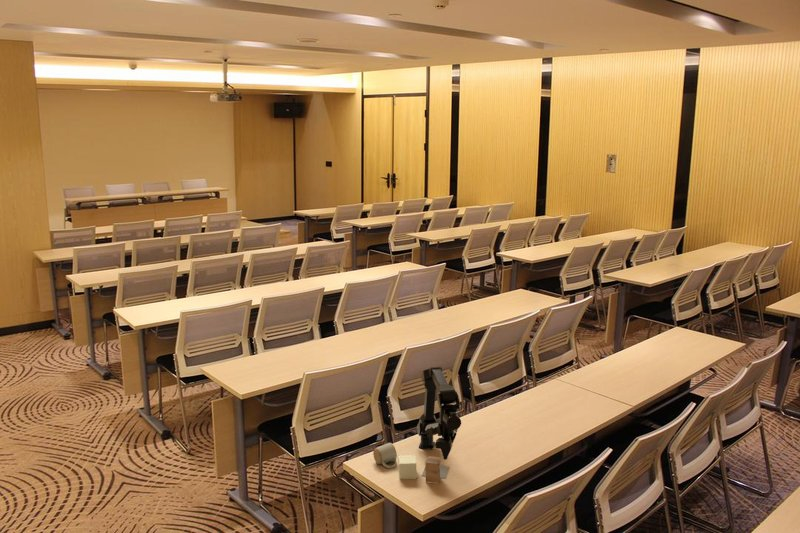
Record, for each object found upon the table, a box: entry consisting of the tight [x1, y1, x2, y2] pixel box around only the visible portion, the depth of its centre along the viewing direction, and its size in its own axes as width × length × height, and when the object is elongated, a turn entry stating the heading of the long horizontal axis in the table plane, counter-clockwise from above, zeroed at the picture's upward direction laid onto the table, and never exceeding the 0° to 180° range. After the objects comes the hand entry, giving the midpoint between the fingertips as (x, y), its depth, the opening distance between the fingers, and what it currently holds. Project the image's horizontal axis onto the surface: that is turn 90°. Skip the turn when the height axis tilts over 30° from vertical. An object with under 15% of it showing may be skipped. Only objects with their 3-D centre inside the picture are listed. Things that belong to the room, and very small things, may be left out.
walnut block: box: [424, 455, 441, 484], centre depth 279 cm, size 5×5×9 cm
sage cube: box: [398, 454, 417, 480], centre depth 283 cm, size 7×7×7 cm
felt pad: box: [421, 465, 450, 480], centre depth 286 cm, size 10×10×1 cm
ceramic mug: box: [372, 442, 398, 469], centre depth 293 cm, size 11×8×8 cm
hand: (446, 455), depth 275 cm, fingers open, 7 cm apart
